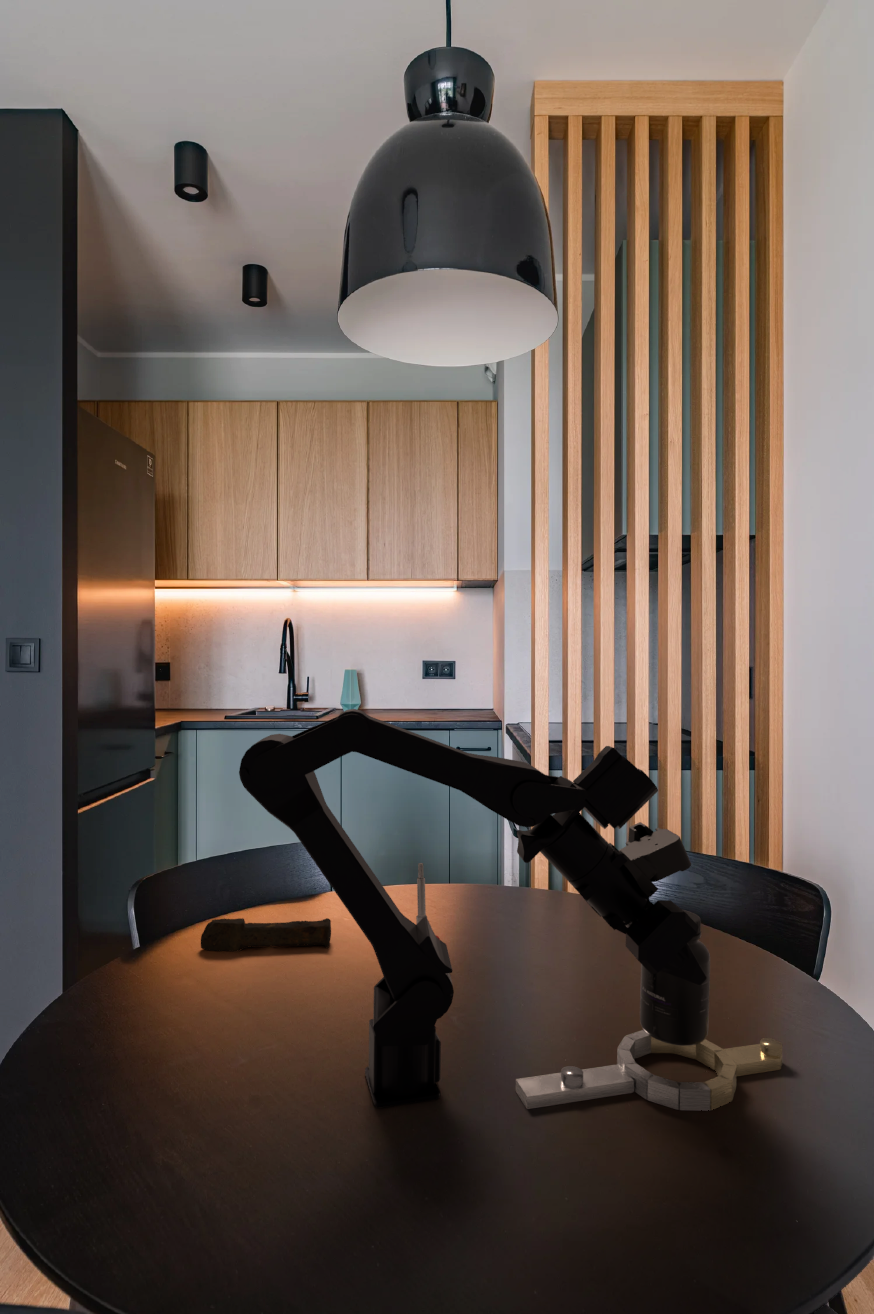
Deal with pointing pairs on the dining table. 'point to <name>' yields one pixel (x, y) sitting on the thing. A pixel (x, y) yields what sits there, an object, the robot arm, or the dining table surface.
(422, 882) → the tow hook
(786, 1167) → the dining table surface
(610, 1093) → the segmented ring handle
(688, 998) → the supplement bottle
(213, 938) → the hand tool
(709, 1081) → the ring with knobbed tab
